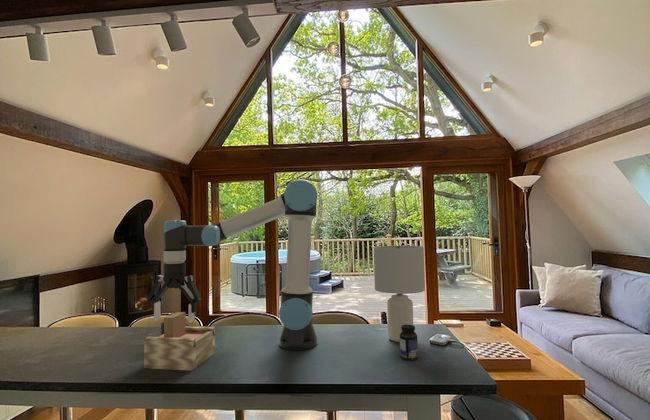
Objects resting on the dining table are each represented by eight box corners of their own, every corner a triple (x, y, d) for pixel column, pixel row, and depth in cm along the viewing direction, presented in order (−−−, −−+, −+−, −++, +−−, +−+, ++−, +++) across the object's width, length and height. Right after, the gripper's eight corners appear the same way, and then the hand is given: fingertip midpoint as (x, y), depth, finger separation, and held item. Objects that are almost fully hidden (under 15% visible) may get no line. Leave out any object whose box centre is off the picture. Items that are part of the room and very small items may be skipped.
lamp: (376, 347, 138) (374, 246, 140) (375, 331, 158) (373, 244, 160) (430, 348, 136) (427, 246, 137) (422, 332, 156) (419, 243, 158)
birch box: (215, 353, 135) (214, 326, 135) (192, 370, 119) (192, 340, 120) (171, 351, 138) (171, 325, 138) (144, 368, 122) (144, 338, 123)
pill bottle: (418, 355, 129) (417, 324, 129) (417, 361, 123) (416, 329, 124) (401, 353, 131) (400, 323, 131) (399, 359, 125) (398, 327, 126)
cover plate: (209, 335, 134) (208, 310, 135) (189, 347, 121) (189, 320, 121) (169, 334, 137) (169, 310, 137) (146, 346, 124) (146, 319, 124)
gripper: (211, 261, 132) (211, 319, 131) (150, 261, 136) (149, 317, 135) (201, 263, 125) (200, 325, 124) (137, 263, 129) (136, 322, 128)
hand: (174, 321), depth 130 cm, fingers open, 13 cm apart
